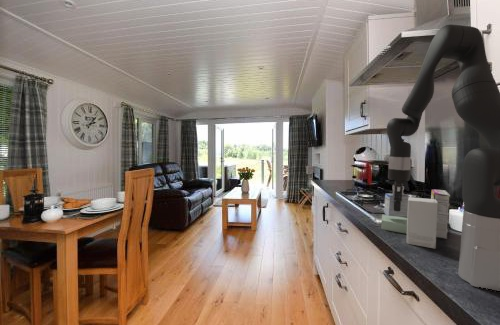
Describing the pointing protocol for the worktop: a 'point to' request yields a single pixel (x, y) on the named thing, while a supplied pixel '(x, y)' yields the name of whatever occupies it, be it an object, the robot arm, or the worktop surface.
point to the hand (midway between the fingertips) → (396, 209)
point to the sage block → (394, 223)
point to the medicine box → (390, 205)
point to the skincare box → (422, 222)
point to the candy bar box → (442, 212)
